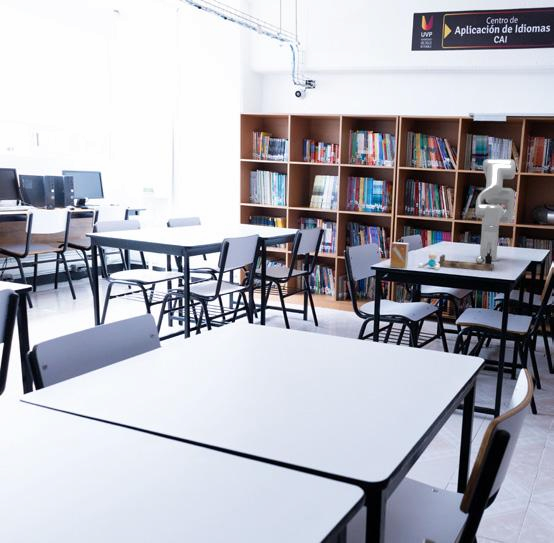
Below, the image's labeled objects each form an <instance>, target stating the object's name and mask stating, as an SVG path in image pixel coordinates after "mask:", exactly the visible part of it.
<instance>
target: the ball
mask: <svg viewBox="0 0 554 543" xmlns="http://www.w3.org/2000/svg"><path fill="white" fill-rule="evenodd" d="M475 263H477V264H482V263H485V260H484V258H483V257H482V256H480V255H478V256H477V257H475Z"/></svg>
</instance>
